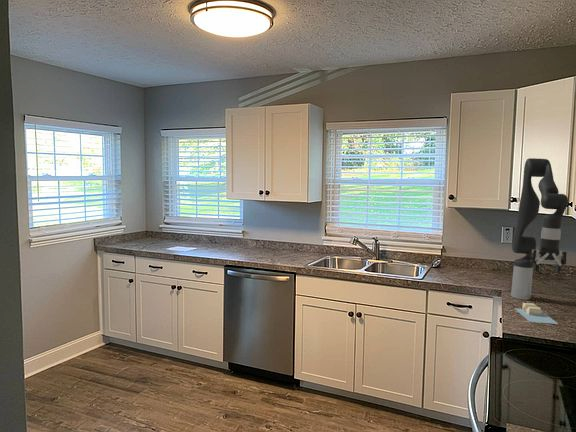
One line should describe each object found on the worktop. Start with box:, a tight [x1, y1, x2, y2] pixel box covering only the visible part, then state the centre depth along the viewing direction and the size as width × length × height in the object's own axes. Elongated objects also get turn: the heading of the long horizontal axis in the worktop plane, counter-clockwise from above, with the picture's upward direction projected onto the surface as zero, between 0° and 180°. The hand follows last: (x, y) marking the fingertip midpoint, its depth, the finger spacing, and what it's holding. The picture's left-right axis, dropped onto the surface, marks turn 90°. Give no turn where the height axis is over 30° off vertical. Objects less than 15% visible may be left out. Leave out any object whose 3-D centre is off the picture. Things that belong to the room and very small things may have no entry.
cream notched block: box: [521, 302, 542, 316], centre depth 209 cm, size 9×5×3 cm, turn 170°
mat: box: [514, 307, 559, 325], centre depth 205 cm, size 20×12×1 cm, turn 170°
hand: (546, 272), depth 201 cm, fingers open, 8 cm apart
